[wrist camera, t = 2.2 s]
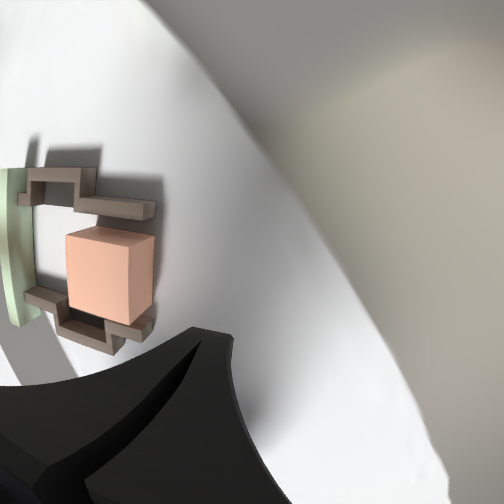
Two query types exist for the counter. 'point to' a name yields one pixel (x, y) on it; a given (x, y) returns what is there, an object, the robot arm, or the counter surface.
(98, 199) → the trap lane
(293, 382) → the counter surface
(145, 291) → the block
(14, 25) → the counter surface
